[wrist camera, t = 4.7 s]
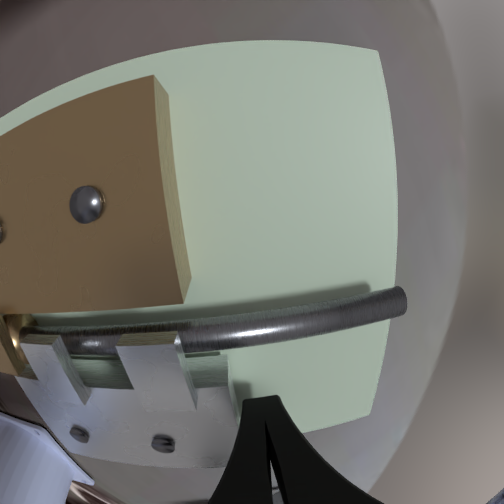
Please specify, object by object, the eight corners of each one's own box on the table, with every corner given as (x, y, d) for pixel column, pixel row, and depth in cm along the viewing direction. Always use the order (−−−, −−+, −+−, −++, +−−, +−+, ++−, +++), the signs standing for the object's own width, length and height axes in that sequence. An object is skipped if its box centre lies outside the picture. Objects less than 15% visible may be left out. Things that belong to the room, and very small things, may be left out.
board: (69, 422, 11) (65, 431, 10) (-22, 141, 6) (-33, 141, 6) (363, 404, 12) (369, 414, 11) (367, 57, 7) (377, 50, 7)
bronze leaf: (15, 343, 8) (-11, 372, 6) (-27, 172, 6) (-66, 178, 4) (381, 312, 9) (416, 347, 7) (374, 88, 7) (418, 67, 5)
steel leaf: (78, 431, 10) (66, 460, 8) (12, 313, 8) (-17, 339, 6) (245, 438, 10) (249, 476, 8) (217, 300, 8) (215, 340, 6)
